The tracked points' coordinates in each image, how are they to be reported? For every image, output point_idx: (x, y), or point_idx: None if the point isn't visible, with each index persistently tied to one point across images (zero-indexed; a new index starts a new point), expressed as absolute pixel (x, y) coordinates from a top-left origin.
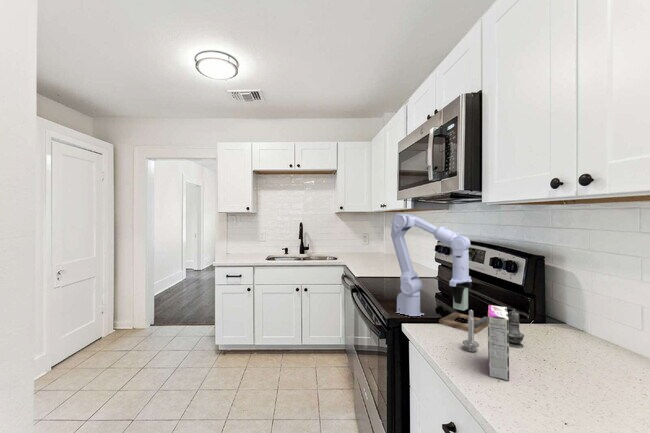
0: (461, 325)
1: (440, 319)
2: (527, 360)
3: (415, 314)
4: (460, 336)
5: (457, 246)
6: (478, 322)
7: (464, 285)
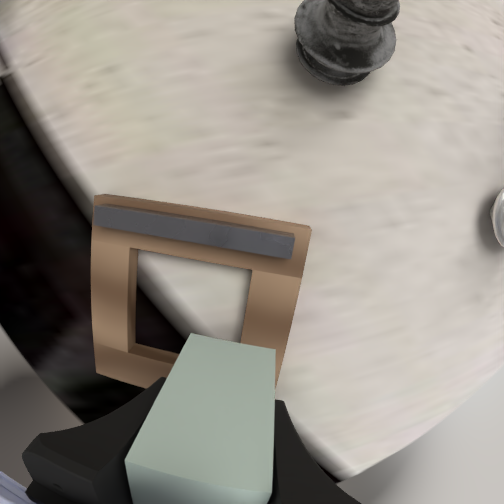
0: (289, 312)
1: None
2: (458, 26)
3: None
4: (391, 283)
5: None
6: (239, 232)
7: (117, 498)
